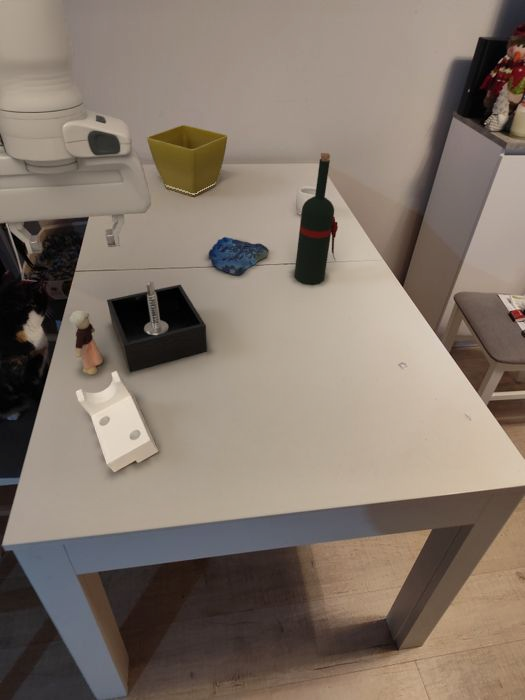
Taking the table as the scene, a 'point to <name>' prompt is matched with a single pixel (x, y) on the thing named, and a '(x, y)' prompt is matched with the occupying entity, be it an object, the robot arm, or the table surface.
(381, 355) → the table surface
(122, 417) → the bracket
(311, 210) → the wine bottle
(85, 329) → the grandmother figurine
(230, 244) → the rock
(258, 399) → the table surface
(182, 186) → the flower pot
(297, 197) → the mug
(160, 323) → the screw
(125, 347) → the open box
